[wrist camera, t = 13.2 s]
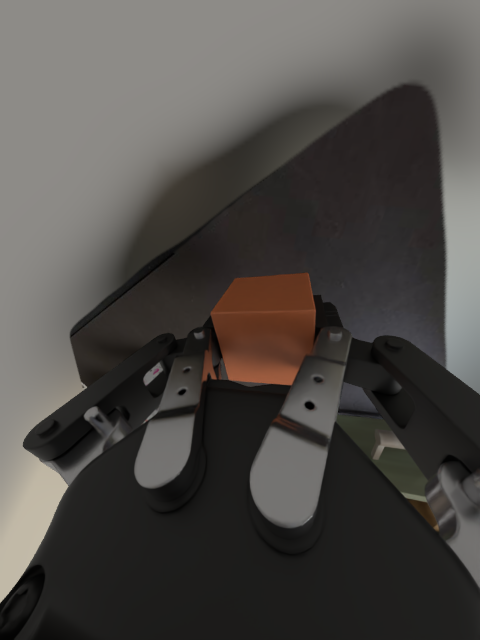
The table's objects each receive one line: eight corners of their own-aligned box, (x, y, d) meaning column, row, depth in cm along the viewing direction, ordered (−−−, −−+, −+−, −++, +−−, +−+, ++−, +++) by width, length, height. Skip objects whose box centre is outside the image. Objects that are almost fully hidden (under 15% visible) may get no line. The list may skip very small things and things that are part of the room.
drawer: (339, 391, 24) (357, 461, 18) (452, 400, 21) (523, 488, 15) (327, 461, 34) (335, 522, 28) (402, 474, 31) (431, 545, 25)
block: (308, 272, 11) (316, 310, 7) (306, 334, 14) (312, 387, 10) (234, 277, 12) (209, 312, 9) (244, 334, 15) (228, 380, 11)
